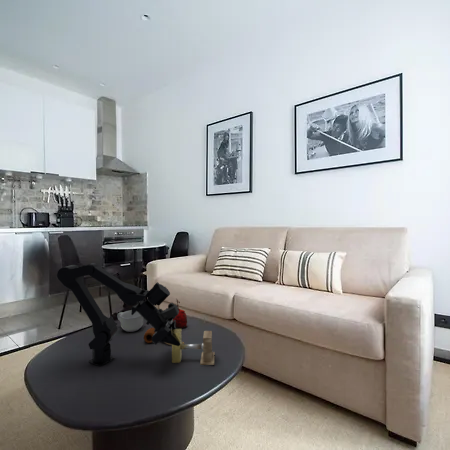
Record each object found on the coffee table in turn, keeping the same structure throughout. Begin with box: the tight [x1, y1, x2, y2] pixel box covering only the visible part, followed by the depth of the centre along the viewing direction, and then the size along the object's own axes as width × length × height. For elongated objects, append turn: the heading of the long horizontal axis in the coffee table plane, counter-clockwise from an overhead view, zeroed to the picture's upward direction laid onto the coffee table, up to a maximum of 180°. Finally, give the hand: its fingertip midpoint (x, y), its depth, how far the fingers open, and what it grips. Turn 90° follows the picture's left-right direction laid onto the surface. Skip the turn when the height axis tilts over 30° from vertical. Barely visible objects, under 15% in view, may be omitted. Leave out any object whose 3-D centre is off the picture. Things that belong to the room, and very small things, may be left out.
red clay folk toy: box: [172, 298, 188, 329], centre depth 139 cm, size 8×7×15 cm
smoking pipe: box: [143, 327, 185, 346], centre depth 121 cm, size 7×18×6 cm, turn 78°
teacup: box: [116, 309, 144, 333], centre depth 137 cm, size 14×11×8 cm
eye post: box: [199, 330, 216, 366], centre depth 105 cm, size 5×9×10 cm, turn 1°
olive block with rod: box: [171, 328, 203, 364], centre depth 105 cm, size 13×4×11 cm, turn 91°
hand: (180, 342), depth 105 cm, fingers closed on olive block with rod, 4 cm apart
